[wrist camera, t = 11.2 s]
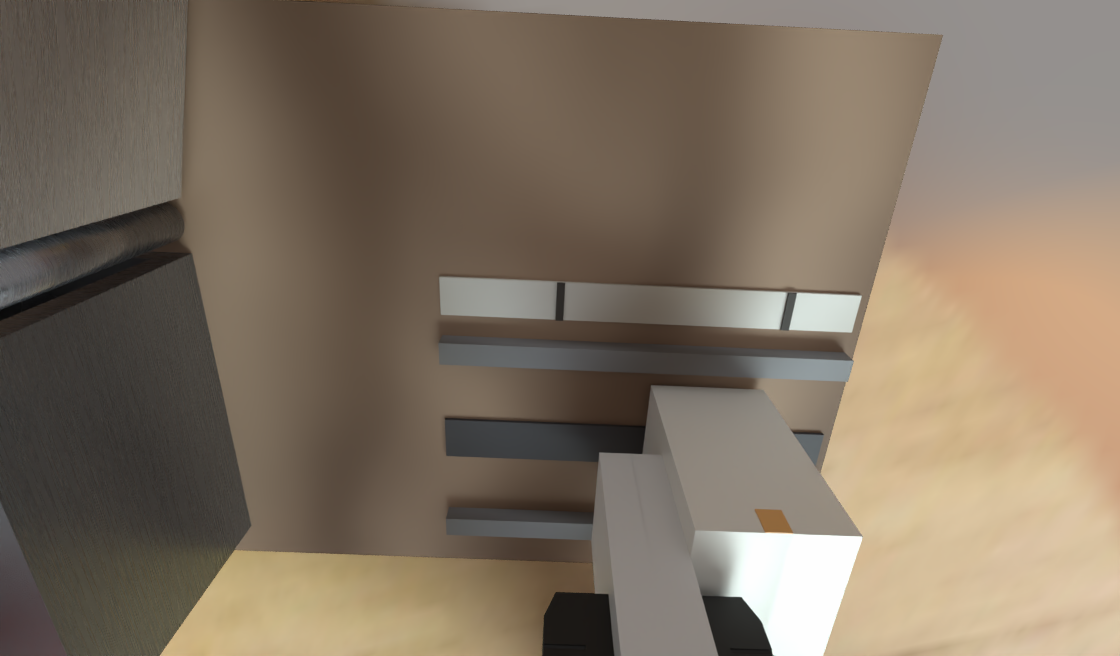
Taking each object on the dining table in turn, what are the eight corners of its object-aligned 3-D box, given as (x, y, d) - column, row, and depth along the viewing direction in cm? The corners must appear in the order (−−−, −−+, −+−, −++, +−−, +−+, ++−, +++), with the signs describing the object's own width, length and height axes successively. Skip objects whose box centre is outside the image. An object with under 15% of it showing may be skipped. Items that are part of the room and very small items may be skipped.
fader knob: (635, 505, 16) (668, 682, 11) (650, 384, 15) (695, 529, 10) (737, 509, 16) (812, 687, 12) (763, 389, 15) (863, 536, 10)
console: (-32, 505, 19) (-98, 550, 17) (-277, -22, 13) (-420, -41, 11) (776, 535, 19) (799, 583, 17) (902, 40, 13) (958, 32, 11)
